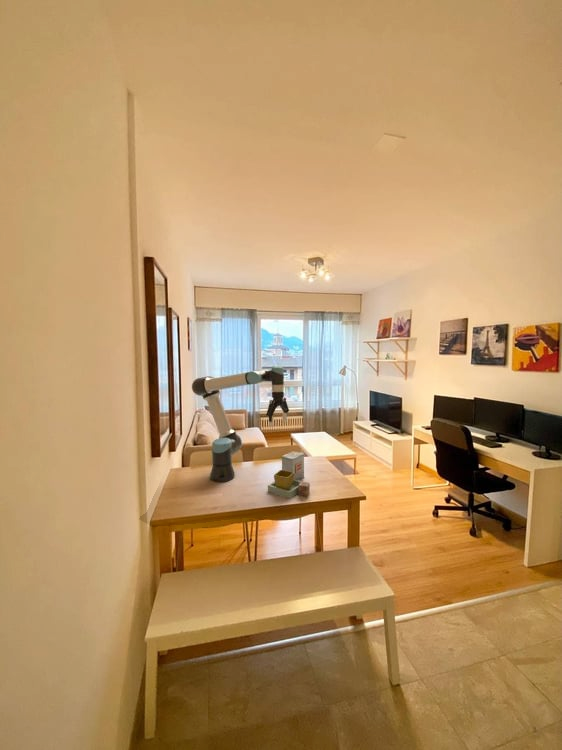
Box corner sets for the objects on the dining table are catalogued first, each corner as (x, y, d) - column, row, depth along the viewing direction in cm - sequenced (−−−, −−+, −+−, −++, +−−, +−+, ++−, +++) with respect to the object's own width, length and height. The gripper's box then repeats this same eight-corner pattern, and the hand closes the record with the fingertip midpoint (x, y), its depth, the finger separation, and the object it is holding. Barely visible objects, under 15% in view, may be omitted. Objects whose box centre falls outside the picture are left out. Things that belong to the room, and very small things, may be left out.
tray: (267, 491, 170) (267, 485, 169) (283, 482, 181) (283, 476, 181) (289, 498, 161) (289, 492, 160) (305, 488, 172) (305, 482, 172)
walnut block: (298, 496, 163) (298, 485, 163) (300, 492, 168) (300, 481, 168) (307, 497, 162) (307, 486, 162) (309, 493, 167) (309, 482, 166)
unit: (281, 480, 184) (281, 456, 183) (293, 473, 194) (293, 451, 193) (293, 484, 179) (293, 459, 178) (305, 477, 189) (304, 453, 188)
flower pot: (273, 490, 168) (273, 474, 167) (280, 484, 175) (280, 469, 175) (288, 494, 164) (287, 477, 163) (294, 487, 172) (294, 472, 171)
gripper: (269, 393, 179) (270, 429, 180) (294, 389, 199) (294, 421, 200) (260, 392, 184) (260, 427, 185) (284, 389, 203) (285, 420, 205)
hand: (278, 424), depth 192 cm, fingers open, 13 cm apart
